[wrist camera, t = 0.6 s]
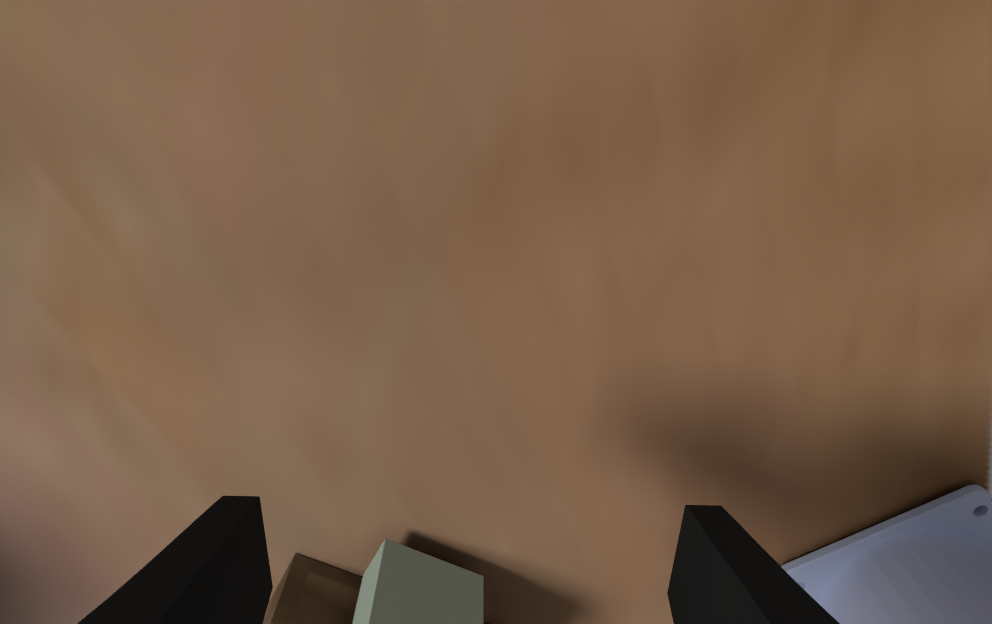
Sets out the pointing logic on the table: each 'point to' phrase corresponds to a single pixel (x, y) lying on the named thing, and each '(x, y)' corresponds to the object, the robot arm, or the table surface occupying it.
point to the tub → (314, 595)
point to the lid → (417, 590)
